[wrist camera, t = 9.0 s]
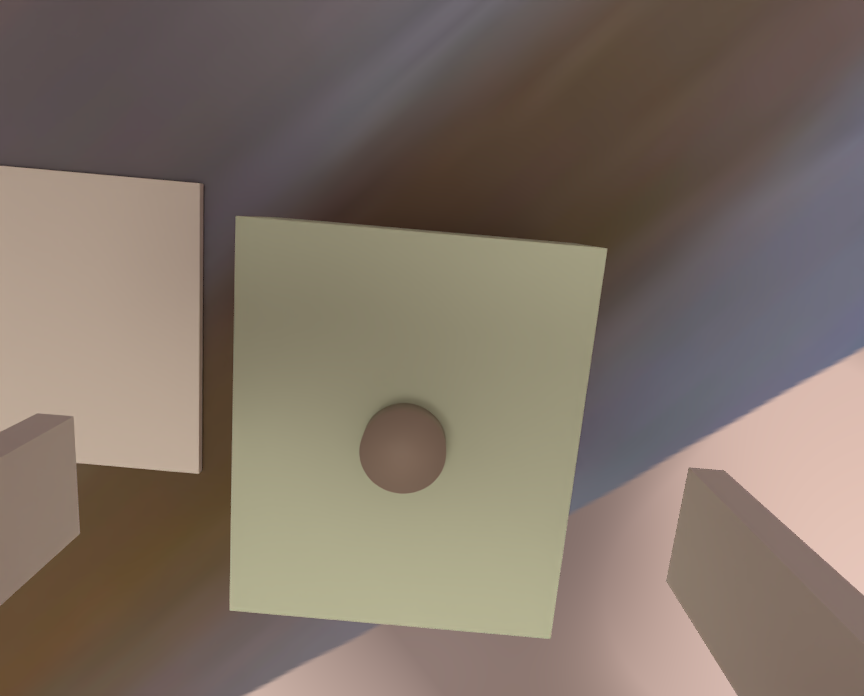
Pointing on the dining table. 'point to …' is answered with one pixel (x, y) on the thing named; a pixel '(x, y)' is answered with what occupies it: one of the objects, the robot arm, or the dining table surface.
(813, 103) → the dining table surface
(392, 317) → the lid
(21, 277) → the mat
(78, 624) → the dining table surface
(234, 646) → the dining table surface
